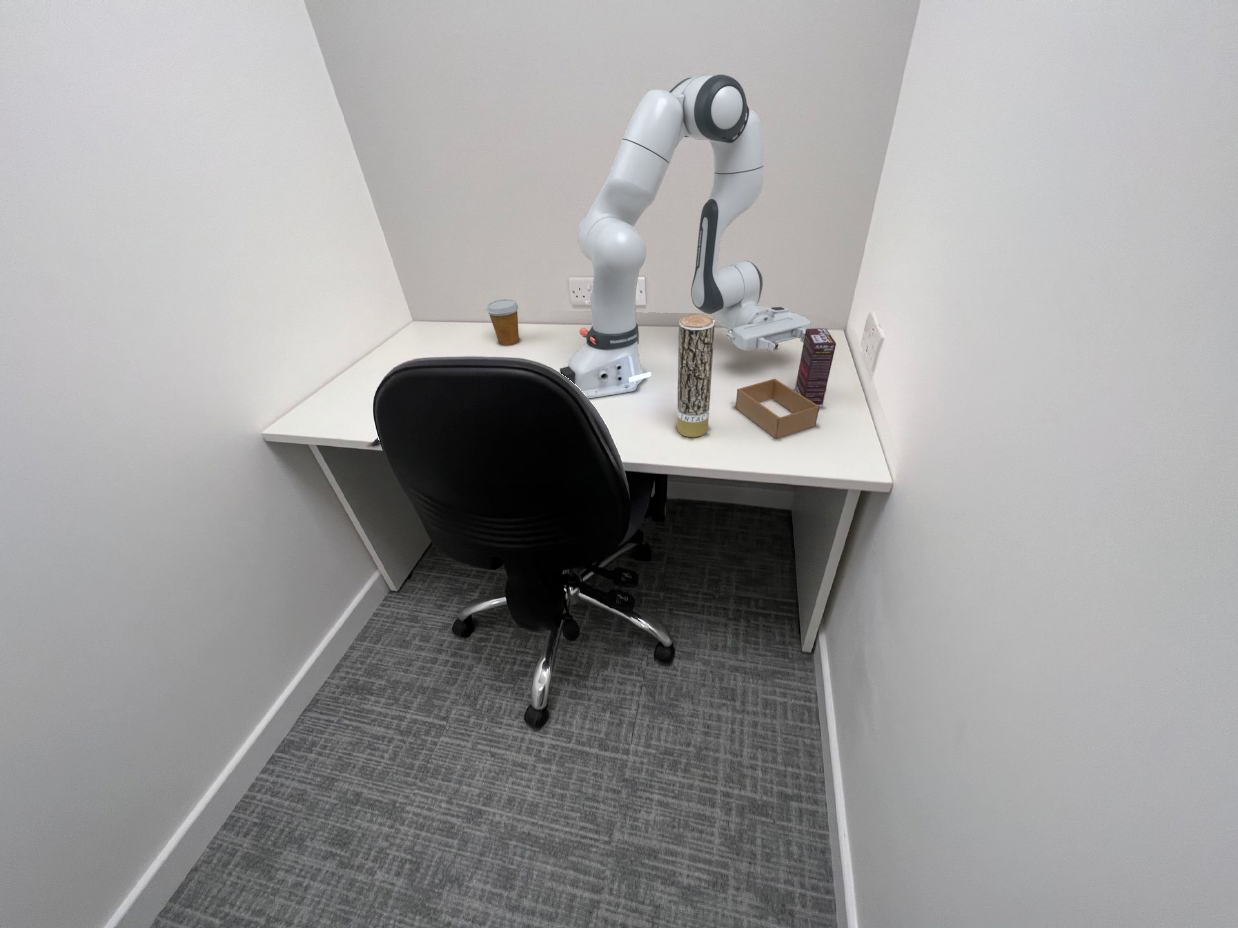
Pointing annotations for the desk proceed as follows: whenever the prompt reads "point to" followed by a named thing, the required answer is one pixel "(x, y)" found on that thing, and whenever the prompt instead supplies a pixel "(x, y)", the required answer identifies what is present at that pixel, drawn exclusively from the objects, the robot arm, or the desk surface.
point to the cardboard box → (793, 401)
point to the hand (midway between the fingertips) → (792, 343)
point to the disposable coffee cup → (504, 320)
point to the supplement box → (815, 365)
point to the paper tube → (694, 373)
